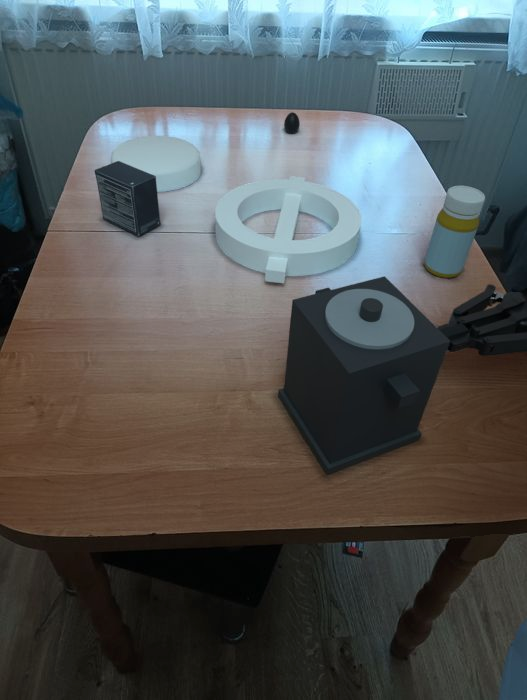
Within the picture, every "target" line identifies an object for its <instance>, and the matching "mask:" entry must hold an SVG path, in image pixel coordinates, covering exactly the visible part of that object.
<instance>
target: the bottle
mask: <svg viewBox="0 0 527 700" xmlns="http://www.w3.org/2000/svg"><path fill="white" fill-rule="evenodd" d="M485 201H486V195H485V194H484V192H482V191H481V190H480V189H477V188H475V187H472V186H467V185H454V186H451V187H449V188H448V190H447V191H446V195H445V197H444V202H443V206H442V208H441V210H440V211H439V212H438V213H437V216H436V219H435V223H434V227H433V230H432V233H431V236H430V240H429V242H428V243H429V244H428V247H427V250H426V254H425V257H424V261H423V265H424V266H425V269H426V270H427V271H428V272H429V273H430V274H431V275H433V276H434V277H439V278H442V279H452V278H455V277H458V276H459V275H460V274H462V272H463V270H464V267H465V265H466V262H467V260H468V256H469V253H470V251H471V248H472V246H473V242H474V240H475V238H476V234H477V231H478V228H479V225H480V215H481V211H482V209H483V206H484V203H485Z"/></svg>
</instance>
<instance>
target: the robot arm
mask: <svg viewBox="0 0 527 700" xmlns="http://www.w3.org/2000/svg"><path fill="white" fill-rule="evenodd" d="M496 289H497V287H496V286H495V284H490V283H489V284H487V285H486V287H485V289H484V290H483V291H482V292H480V293H478V294H477V295H475V296H473V297H472V298H470V299H469V300H467V301H464V302H463V303H461V304H460V305H458V306H456V307H454V308H453V310H452V312H451V315H450V318H449V320H448V323H444V324H440V325H438V326H436V327H437V328H438V329H439V330H440V331H441V332H442V333H443V334H444V335H445V336H446V337H447V338H448V339H449V340H450V344H449V346H448V349H447V352H449V353H456V352H460V351H463V350H465V349H466V350H467V349H470V350H473V349H475V350H476V351H477V353H478V355H480V356H482V357H490V356H501V355H506V354H507V355H508V354H509V355H510V354H518V353H526V352H527V286H526V287H524V288H523V289H521V290H520V291H518V292H517V291H515V292H514V291H509V292H506V293H502V292H499V291H496ZM495 304H496V305H495ZM493 305H495V306H493ZM488 307H490V308H488ZM504 662H505V663H504V666H503V671H502V675H501V680H500V686H499V693H498V698H497V699H498V700H527V619H525V620H524V621H523V622H521V623H520V624H519V626H518V628H517V629H516V632H515V636H514V639H513V640H512V641H511V643H510V645H509V648H508V650H507V654H506V658H505V661H504Z"/></svg>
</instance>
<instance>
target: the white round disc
mask: <svg viewBox="0 0 527 700" xmlns="http://www.w3.org/2000/svg"><path fill="white" fill-rule="evenodd" d="M117 161H120V162H123V163H125V164H127V165H130V166H132V167H135V168H137V169H140V170H142V171H144V172H147V173H149V174H152V175H154V176H156V185H157V193H164V192H172V191H176V190H177V191H178V190H179V189H183V188H185V187H188V186H190V185H192V184H193V183H195V182H196V181H198V179H199V178H200V176H201V174H202V169H201V167H202V166H201V152H200V150H199V149H198V148H197V146H195V144H193V143H191V142H189V141H188V140H186V139H183V138H179V137H176V136H168V135H146V136H145V135H144V136H139V137H135V138H131V139H128V140H125V141H124V142H122V143H120V144H118V145H117V146H116V147H115V148H114V150H112V151H111V155H110V164H111V163H114V162H117Z"/></svg>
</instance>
